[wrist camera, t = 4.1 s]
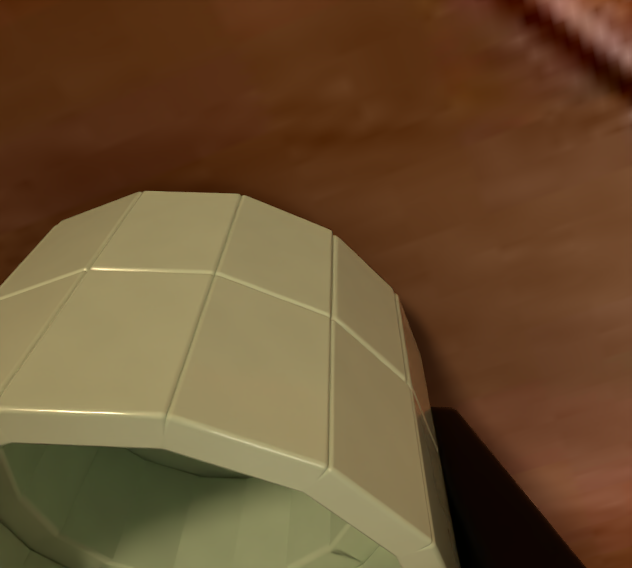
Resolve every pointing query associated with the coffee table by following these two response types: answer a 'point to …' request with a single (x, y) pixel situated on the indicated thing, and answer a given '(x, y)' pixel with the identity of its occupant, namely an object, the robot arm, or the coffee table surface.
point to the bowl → (212, 397)
